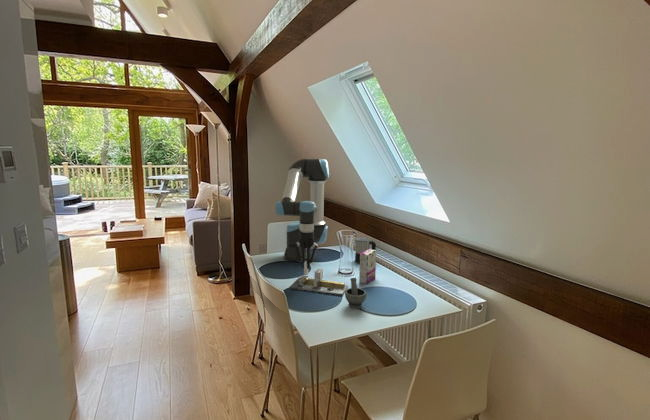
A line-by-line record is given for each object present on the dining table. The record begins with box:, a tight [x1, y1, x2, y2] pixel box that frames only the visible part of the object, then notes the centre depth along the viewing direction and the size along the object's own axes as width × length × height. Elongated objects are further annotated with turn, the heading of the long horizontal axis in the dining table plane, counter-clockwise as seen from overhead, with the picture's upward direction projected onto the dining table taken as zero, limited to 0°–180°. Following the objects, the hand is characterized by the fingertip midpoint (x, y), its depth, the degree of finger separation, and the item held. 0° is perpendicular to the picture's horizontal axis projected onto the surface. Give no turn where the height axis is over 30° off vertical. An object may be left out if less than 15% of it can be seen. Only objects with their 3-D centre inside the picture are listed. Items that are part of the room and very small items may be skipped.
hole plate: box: [289, 278, 349, 297], centre depth 182 cm, size 12×28×1 cm, turn 73°
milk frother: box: [354, 237, 377, 264], centre depth 229 cm, size 14×16×15 cm
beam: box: [297, 275, 346, 288], centre depth 182 cm, size 7×25×3 cm, turn 73°
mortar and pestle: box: [344, 277, 367, 310], centre depth 162 cm, size 11×9×12 cm
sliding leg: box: [313, 268, 324, 287], centre depth 182 cm, size 8×3×7 cm, turn 163°
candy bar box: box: [358, 248, 377, 285], centre depth 192 cm, size 11×5×16 cm, turn 147°
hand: (306, 274), depth 186 cm, fingers closed
